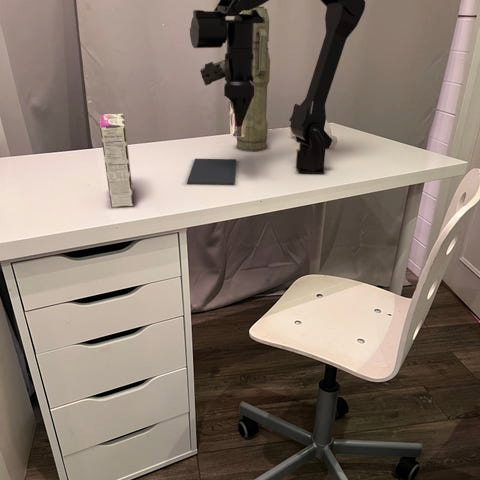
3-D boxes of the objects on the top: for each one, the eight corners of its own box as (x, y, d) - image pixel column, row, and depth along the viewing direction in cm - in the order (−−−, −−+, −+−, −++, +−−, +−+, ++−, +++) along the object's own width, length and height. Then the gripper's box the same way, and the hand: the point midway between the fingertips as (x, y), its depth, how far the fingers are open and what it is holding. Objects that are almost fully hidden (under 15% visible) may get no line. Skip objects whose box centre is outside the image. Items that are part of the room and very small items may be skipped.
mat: (236, 161, 138) (236, 159, 137) (234, 185, 121) (234, 182, 121) (195, 160, 138) (195, 158, 138) (187, 184, 121) (187, 181, 121)
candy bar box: (109, 191, 116) (99, 113, 107) (132, 190, 117) (124, 113, 108) (109, 208, 107) (99, 125, 98) (134, 207, 108) (125, 124, 99)
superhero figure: (282, 141, 161) (320, 149, 145) (283, 109, 157) (322, 114, 141) (310, 138, 165) (350, 146, 149) (311, 107, 161) (352, 112, 145)
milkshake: (254, 135, 120) (254, 88, 115) (238, 138, 117) (238, 90, 112) (239, 132, 123) (239, 86, 118) (223, 136, 120) (223, 88, 114)
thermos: (249, 154, 144) (252, 7, 125) (228, 144, 153) (228, 5, 134) (275, 150, 148) (282, 7, 129) (253, 141, 157) (257, 6, 138)
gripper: (204, 43, 118) (206, 115, 126) (198, 51, 102) (200, 133, 111) (253, 44, 118) (251, 116, 126) (255, 52, 102) (253, 134, 111)
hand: (239, 124), depth 118 cm, fingers closed on milkshake, 4 cm apart
